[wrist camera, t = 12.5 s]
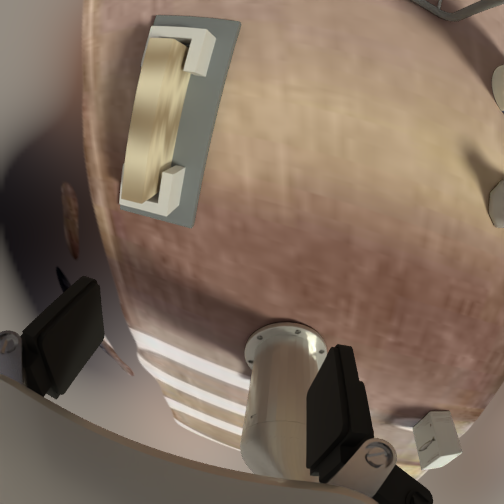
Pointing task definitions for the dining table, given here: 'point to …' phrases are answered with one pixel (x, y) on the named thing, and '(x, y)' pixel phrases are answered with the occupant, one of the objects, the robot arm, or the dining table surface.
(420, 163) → the dining table surface
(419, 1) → the newton's cradle
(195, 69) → the frame
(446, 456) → the supplement box
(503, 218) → the flask
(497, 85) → the water bottle
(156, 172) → the slat
